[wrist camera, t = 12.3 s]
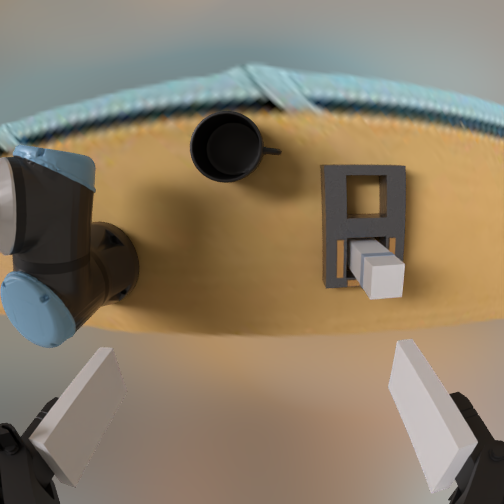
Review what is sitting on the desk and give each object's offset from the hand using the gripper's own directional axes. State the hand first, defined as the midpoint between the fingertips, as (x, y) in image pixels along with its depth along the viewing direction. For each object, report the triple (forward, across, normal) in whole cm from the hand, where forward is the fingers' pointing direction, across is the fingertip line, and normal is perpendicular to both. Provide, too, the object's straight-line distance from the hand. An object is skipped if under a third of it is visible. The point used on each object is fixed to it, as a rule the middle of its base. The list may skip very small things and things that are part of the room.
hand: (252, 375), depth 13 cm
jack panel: (+39, +16, -2) cm, 42 cm away
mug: (+39, -3, +11) cm, 41 cm away
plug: (+39, +15, -6) cm, 42 cm away
